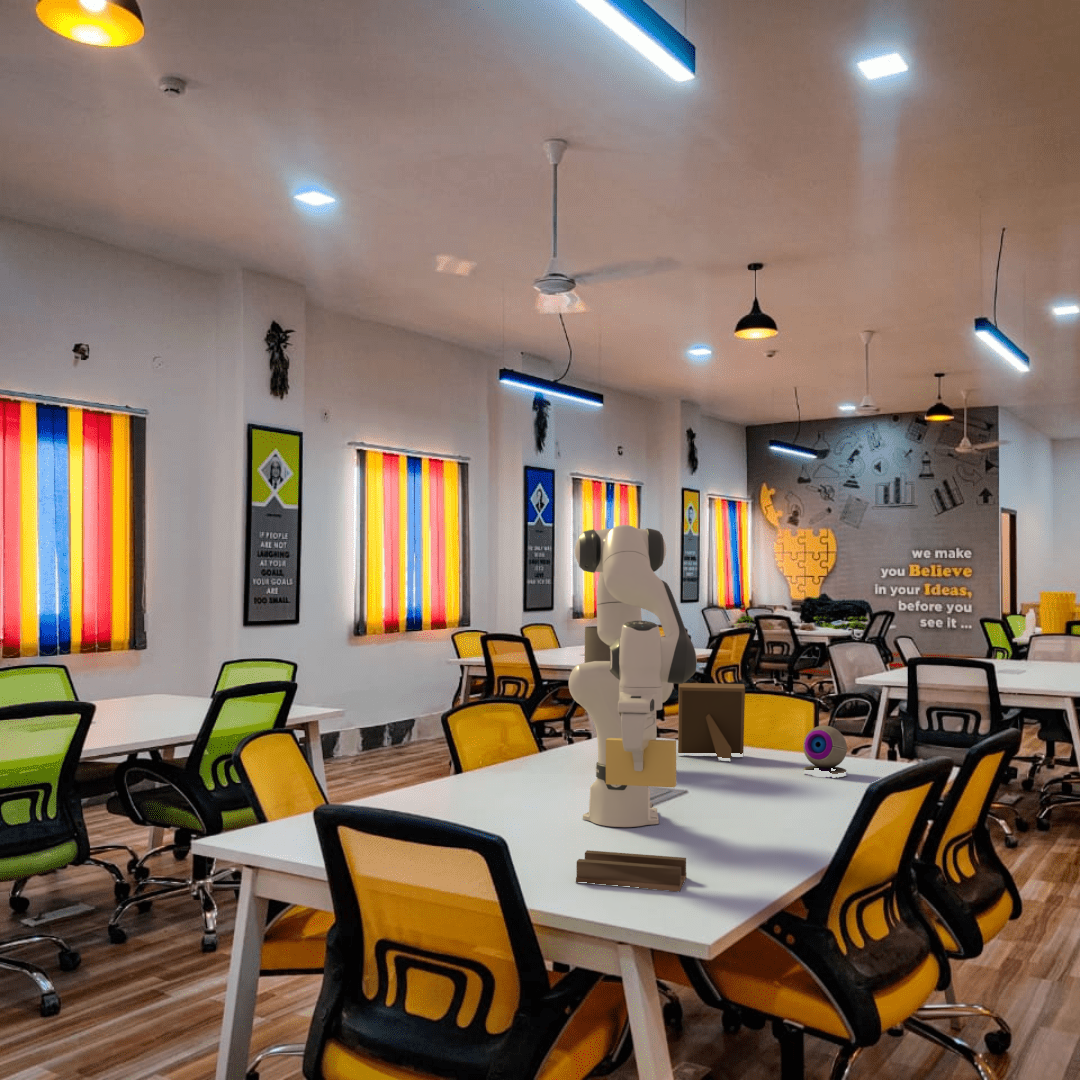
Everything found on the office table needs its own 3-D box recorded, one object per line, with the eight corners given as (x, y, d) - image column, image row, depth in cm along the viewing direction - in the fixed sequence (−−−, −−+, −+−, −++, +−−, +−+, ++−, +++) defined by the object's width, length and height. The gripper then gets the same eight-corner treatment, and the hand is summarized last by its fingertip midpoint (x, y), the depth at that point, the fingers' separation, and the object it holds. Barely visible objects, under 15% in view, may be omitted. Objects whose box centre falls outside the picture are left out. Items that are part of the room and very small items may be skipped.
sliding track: (587, 869, 211) (587, 849, 211) (686, 877, 206) (686, 857, 206) (575, 883, 202) (575, 862, 202) (679, 891, 196) (679, 870, 197)
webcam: (796, 774, 322) (796, 725, 322) (815, 769, 331) (814, 722, 332) (836, 780, 313) (835, 729, 314) (854, 774, 323) (853, 725, 324)
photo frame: (677, 754, 360) (678, 681, 361) (742, 755, 358) (742, 682, 358) (679, 761, 345) (679, 685, 346) (746, 763, 343) (746, 687, 344)
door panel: (608, 781, 216) (608, 737, 217) (676, 785, 212) (676, 740, 213) (605, 784, 213) (605, 739, 214) (674, 787, 209) (674, 742, 210)
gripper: (634, 696, 225) (634, 761, 224) (616, 704, 205) (616, 775, 204) (663, 697, 223) (663, 762, 222) (648, 705, 203) (648, 777, 202)
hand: (640, 769), depth 213 cm, fingers closed on door panel, 3 cm apart
